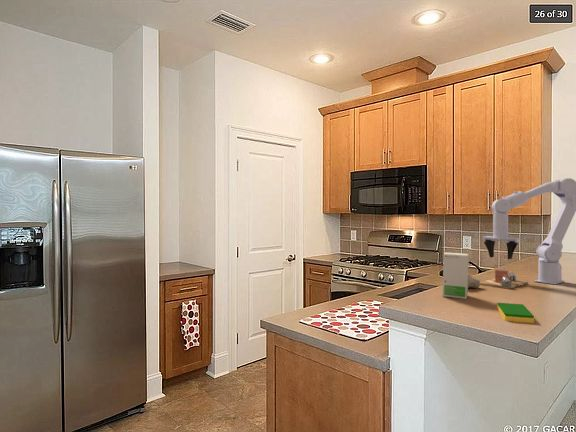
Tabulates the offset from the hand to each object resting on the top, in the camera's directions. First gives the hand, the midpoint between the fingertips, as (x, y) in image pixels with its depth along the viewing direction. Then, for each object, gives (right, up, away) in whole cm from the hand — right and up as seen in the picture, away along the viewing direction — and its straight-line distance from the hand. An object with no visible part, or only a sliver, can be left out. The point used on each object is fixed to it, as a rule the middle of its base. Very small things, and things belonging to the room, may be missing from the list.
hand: (500, 258), depth 166 cm
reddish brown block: (-3, -9, -7) cm, 12 cm away
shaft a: (+2, -10, -3) cm, 11 cm away
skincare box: (-32, -11, -27) cm, 43 cm away
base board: (-3, -10, -7) cm, 13 cm away
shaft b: (-5, -10, -13) cm, 17 cm away
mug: (-21, -11, -13) cm, 27 cm away
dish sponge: (-25, -12, -53) cm, 59 cm away
